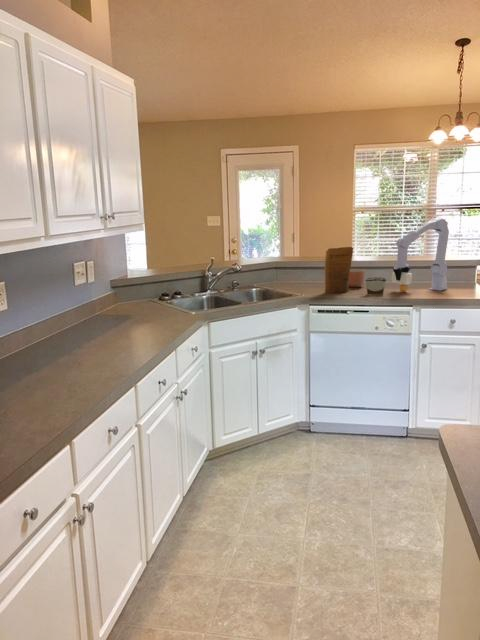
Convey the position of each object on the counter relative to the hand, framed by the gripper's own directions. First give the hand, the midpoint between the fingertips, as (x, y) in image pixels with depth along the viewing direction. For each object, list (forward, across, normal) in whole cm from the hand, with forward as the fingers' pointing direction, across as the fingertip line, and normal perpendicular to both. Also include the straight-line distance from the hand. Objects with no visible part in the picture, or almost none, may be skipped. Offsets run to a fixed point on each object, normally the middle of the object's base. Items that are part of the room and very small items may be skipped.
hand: (401, 279), depth 320 cm
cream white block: (+2, 0, 0) cm, 2 cm away
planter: (+8, -3, +32) cm, 33 cm away
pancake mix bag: (+8, -28, +27) cm, 40 cm away
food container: (+8, -18, +7) cm, 21 cm away
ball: (+5, 0, -2) cm, 5 cm away
